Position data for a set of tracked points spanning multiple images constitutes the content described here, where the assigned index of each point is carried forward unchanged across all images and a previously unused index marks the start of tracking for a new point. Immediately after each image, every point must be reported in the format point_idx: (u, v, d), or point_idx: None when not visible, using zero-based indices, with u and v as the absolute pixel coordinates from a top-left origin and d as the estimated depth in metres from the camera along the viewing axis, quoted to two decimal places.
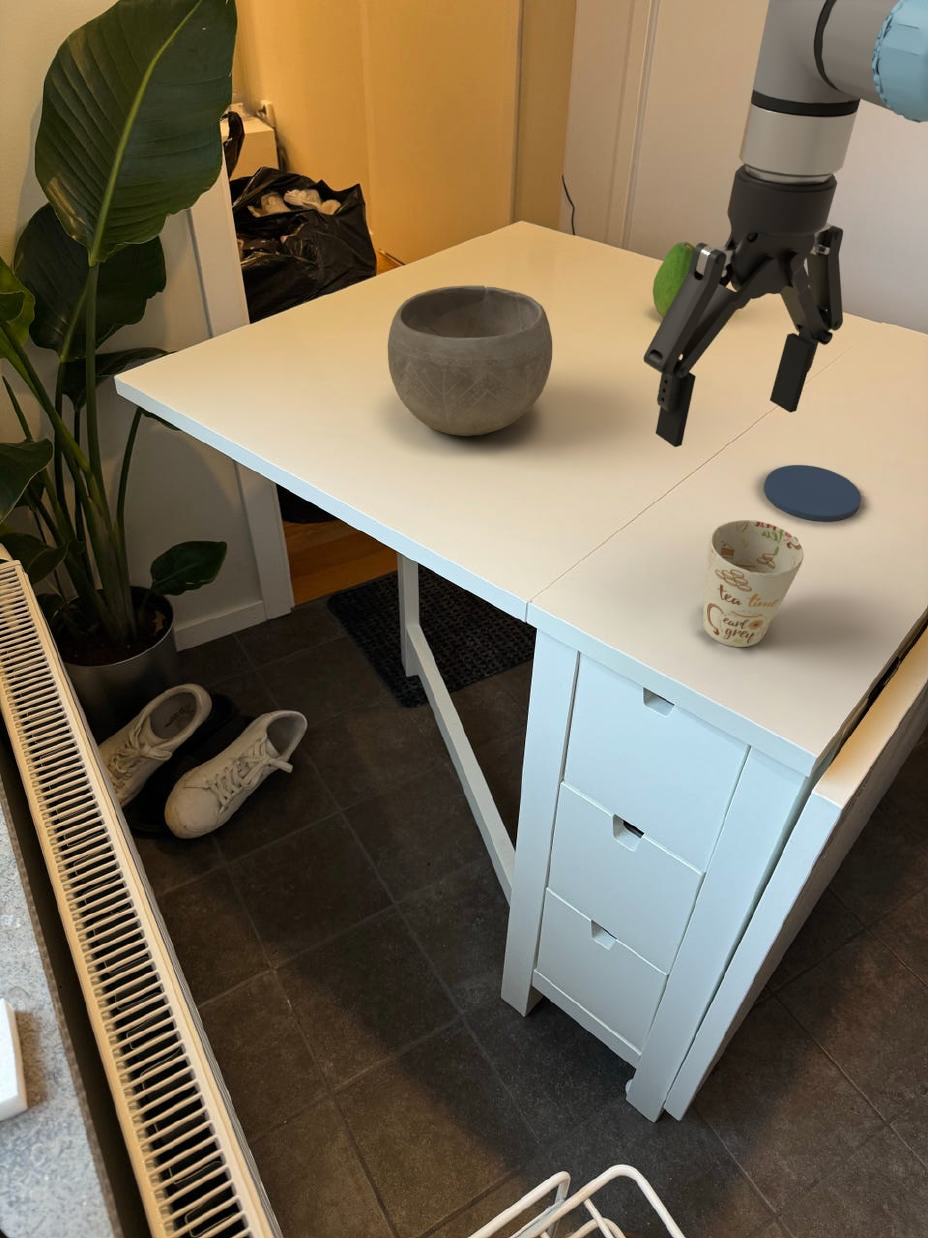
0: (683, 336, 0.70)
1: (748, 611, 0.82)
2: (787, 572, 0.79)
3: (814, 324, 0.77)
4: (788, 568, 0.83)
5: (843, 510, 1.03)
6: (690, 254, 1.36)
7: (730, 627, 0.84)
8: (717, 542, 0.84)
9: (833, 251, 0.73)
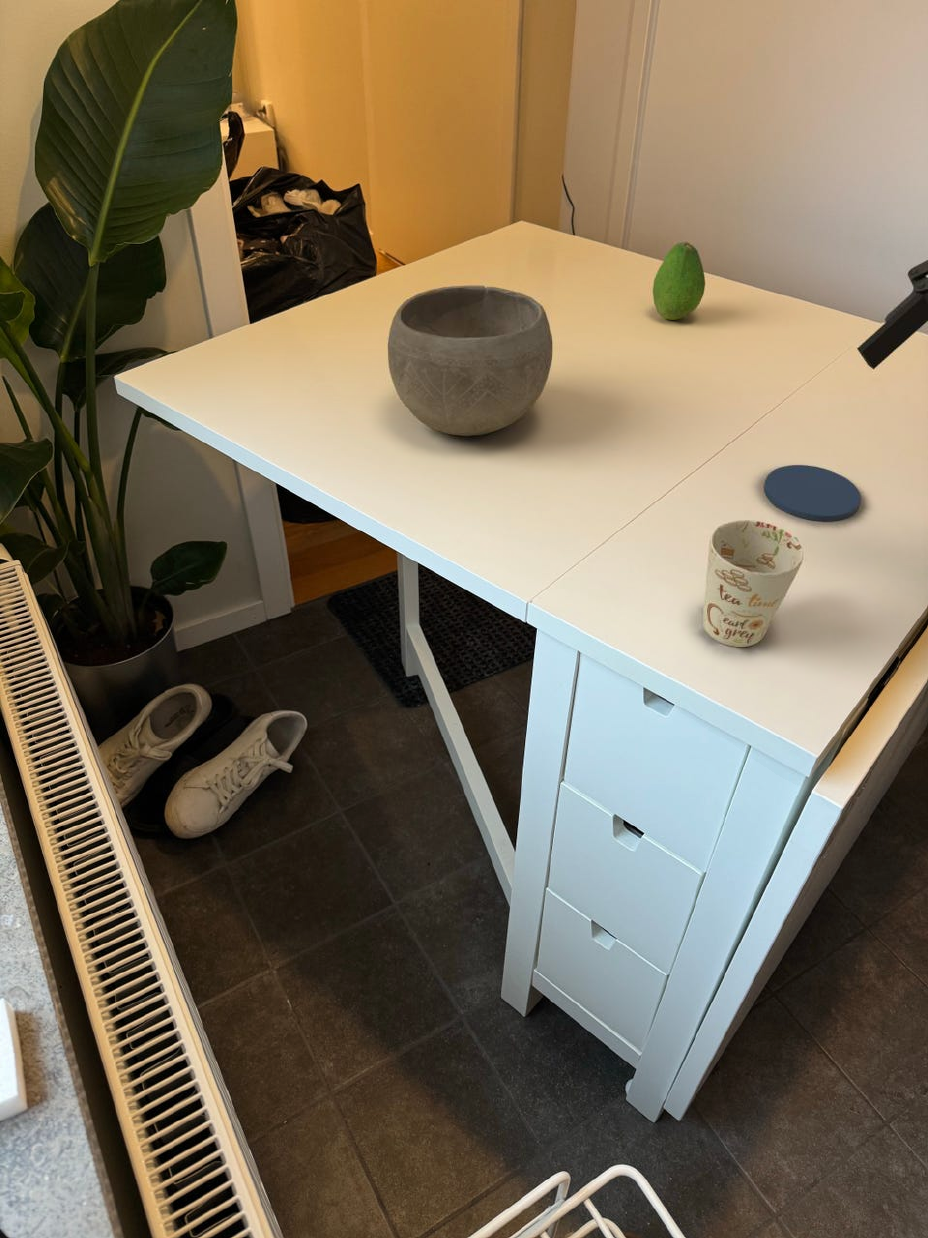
0: None
1: (748, 611, 0.82)
2: (787, 572, 0.79)
3: None
4: (788, 568, 0.83)
5: (843, 510, 1.03)
6: (690, 254, 1.36)
7: (730, 627, 0.84)
8: (717, 542, 0.84)
9: None
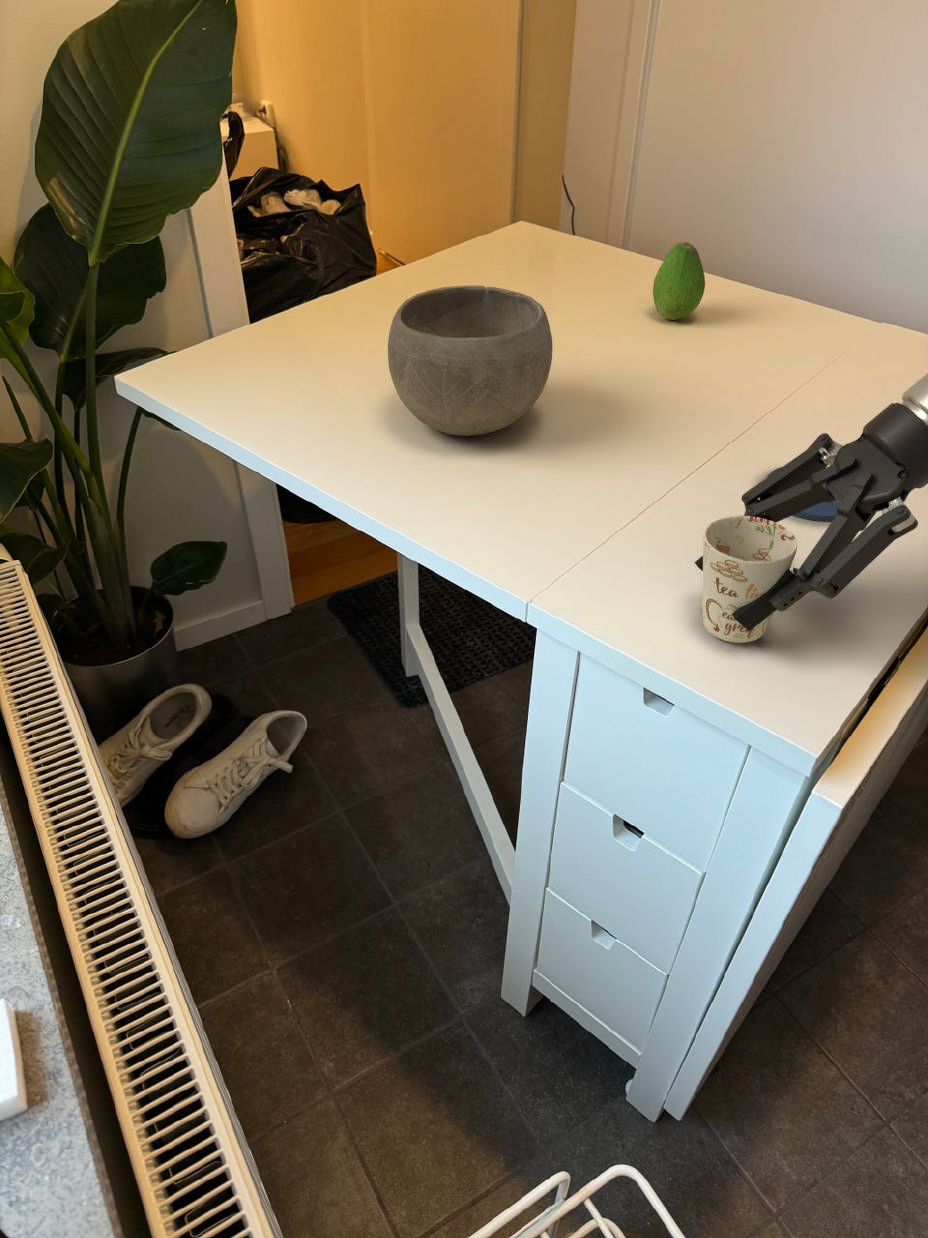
0: (769, 480, 0.87)
1: (746, 603, 0.82)
2: (781, 560, 0.79)
3: (812, 556, 0.80)
4: None
5: None
6: (690, 254, 1.36)
7: (729, 622, 0.84)
8: (711, 538, 0.85)
9: (886, 517, 0.76)
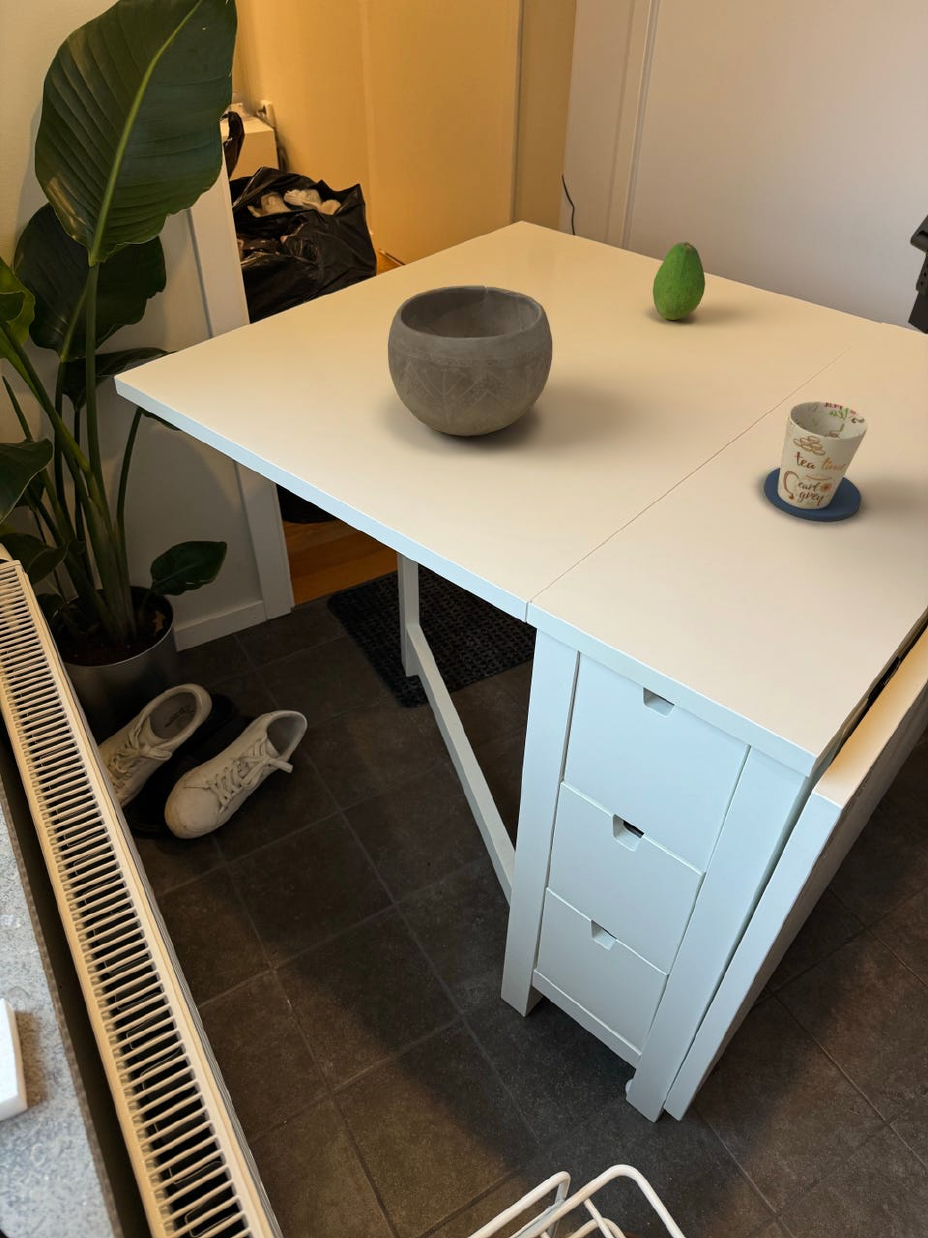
0: None
1: (820, 474, 0.99)
2: (855, 437, 0.96)
3: None
4: None
5: (843, 510, 1.03)
6: (690, 254, 1.36)
7: (804, 490, 1.01)
8: (792, 420, 1.01)
9: None
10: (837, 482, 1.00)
